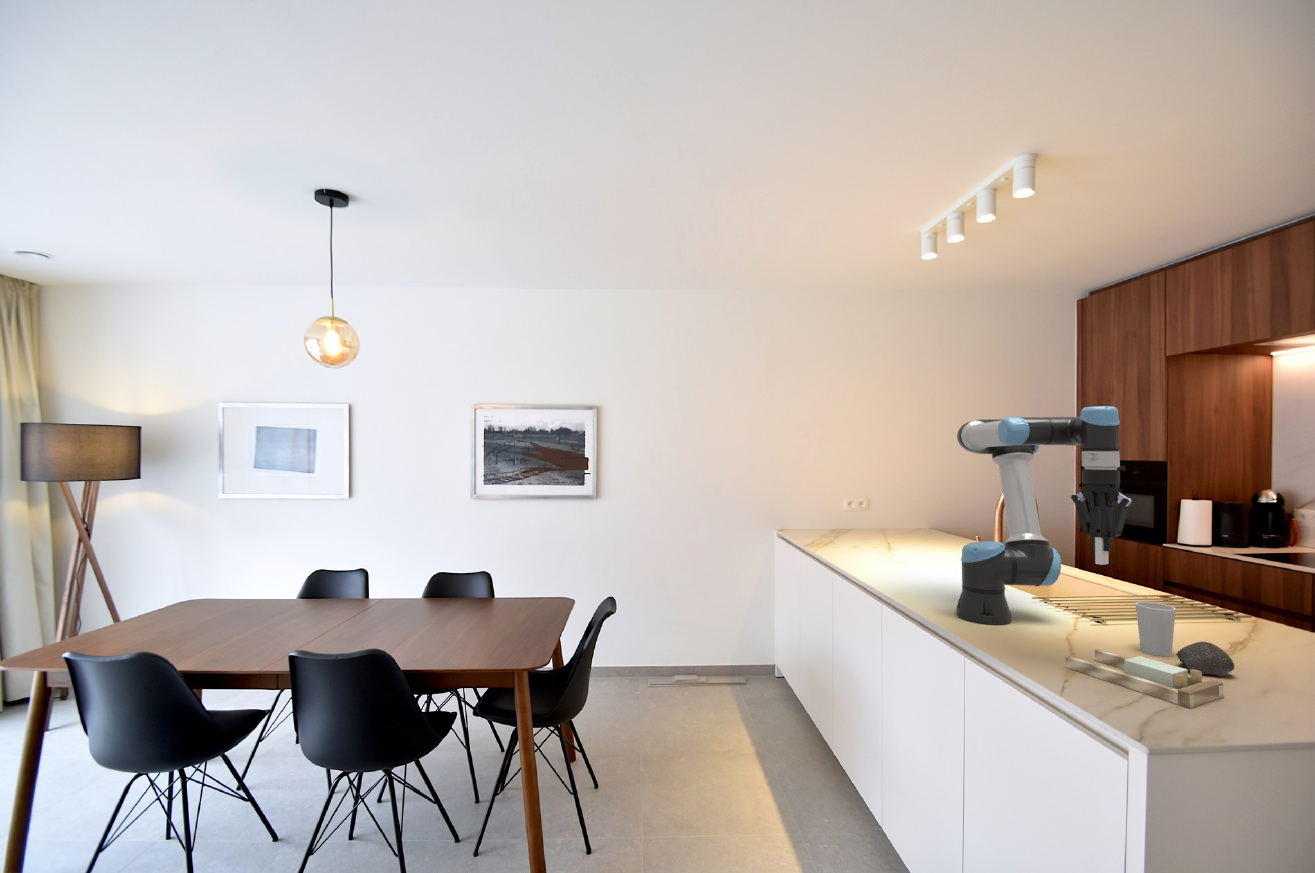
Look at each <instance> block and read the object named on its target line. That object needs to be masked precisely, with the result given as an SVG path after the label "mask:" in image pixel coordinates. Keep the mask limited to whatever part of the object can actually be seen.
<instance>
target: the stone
mask: <svg viewBox="0 0 1315 873" xmlns="http://www.w3.org/2000/svg"><path fill="white" fill-rule="evenodd" d="M1175 656H1176V657H1177V658H1178V659H1179V662H1181V663H1182V664H1183V665H1186V667H1187V668H1188V671H1190V670H1191V669H1194V670H1199V671H1201V672H1202V675H1213V676H1216V677H1223V676H1225V675H1227V674H1229V673H1230V672H1232V671H1234V670H1235V663H1234V661H1233V659H1232V658H1231V657H1230V656H1229V654H1228V653H1227V652H1226V650H1224V649H1222V648H1221V647H1219V646H1218V645H1215V644H1214V643H1212V642H1208V641H1198V642H1194V643H1191V644H1188V645H1186V646H1184V647H1182V648H1180V649H1179V650H1178V651H1177V653H1176V654H1175Z"/></svg>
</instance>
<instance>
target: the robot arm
mask: <svg viewBox="0 0 1315 873" xmlns="http://www.w3.org/2000/svg"><path fill="white" fill-rule="evenodd" d="M1120 423H1121V422H1120V418H1119V410H1118V408H1117V407H1115V406H1110V405H1109V406H1106V405H1105V406H1104V405H1103V406H1100V405H1099V406H1087V407H1086V406H1085V407H1083V408H1081V410H1080V416H1041V417H1040V416H1039V417H1036V416H1035V417H1034V416H1033V417H1031V416H1030V417H1029V416H1028V417H1026V416H1024V417H1023V416H1021V417H1020V416H1012V417H1004V418H1001V419H1000V418H999V419H997V418H996V419H994V418H993V419H991V418H990V419H982V418H981V419H974V420H970V421H967V422H965V423H963V424H962V425H961V426H960V427H959V429H958V430H957V434H956V439H957V442H958V444H959V446H960V447H961V448H963V449H964V450H965V451H966V452H971V453H974V454H979V455H991V457H992V461H993V462H994V463H995V464H997V465H998V469H999V470H998V471H999V476H1000V482H1001V488H1002V496H1003V502H1004V508H1005V516H1006V521H1007V528H1008V535H1009V537H1008V538H1007V539H1006V540H1005V542H1004V543H1002V541H1001V542H1000V541H994V540H993V541H988V540H987V541H974V542H968V543H967V544H965V545H963V547H962V548H961V556H960V557H961V559H960V561H961V582H962V583H961V593H960V596H959V599H958V601H957V605H956V608H955V613H956V614H955V615H956V616H957V617H958V618H960V619H961V620H965V621H969V622H973V623H978V624H984V625H1008V624H1010V623H1012V621H1013V619H1012V611H1011V610H1010V606H1009V603H1008V601H1007V598H1006V594H1005V589H1006V588H1005V586H1030V587H1031V586H1033V587H1040V586H1041V587H1048V586H1052V585H1054V584H1055V583H1056V582H1057V581H1058V579H1059V577H1060V574H1061V571H1062V560H1061V556H1060V553H1059V552H1058V550H1057V549H1056V548H1054V547H1050V543H1049V539H1047V538H1045V537H1044V536H1042V532H1041V525H1040V524H1041V523H1040V519H1039V512H1038V507H1037V502H1036V494H1035V489H1034V484H1033V478H1032V477H1033V476H1032V471H1031V465H1030V462H1031V461H1032V460H1033V459H1034V454H1035V453H1037V452H1038V450H1039V446H1073V447H1075V446H1081V447H1080V448H1081V466H1082V467H1083V468H1084V469H1082V470H1081V482H1082V487H1081V489H1080V491H1079V493H1077V494H1072V495H1071V496H1070V498H1071V500H1072V502H1073V503H1074V505H1075V508H1076V509H1075V510H1076V512H1077V516H1078V519H1079V523H1080V524H1079V525H1080V527H1081V531H1082V533H1083V534H1087V535H1089V536H1090V539H1091V540H1090V541H1091V549H1092V550H1094V557H1095V561H1094V562H1095V563H1094V564H1096V565H1100V566H1103V565H1104V566H1105V565H1109V552H1112V550H1113V538H1115V537H1120V536H1121V535H1122V534H1123V530H1124V525H1125V523H1126V519H1127V518H1126V517H1127V515H1128V511H1129V507H1131V505H1132V504H1133V502H1134V499H1133V498H1131V497H1127V496H1126V495H1124V494H1123V492H1122V489H1121V488H1120V485H1121V471H1120V470H1119V469H1118V468H1120V467H1121V465H1120V464H1121V463H1120V462H1121V460H1120ZM1085 500H1086V501H1087V502H1088V506H1087V503H1086V501H1085ZM1116 502H1117V507H1116V510H1115V513H1114V516H1113V510H1114V509H1115V508H1114V507H1115V506H1114V505H1115V504H1116ZM1004 544H1005V545H1004Z"/></svg>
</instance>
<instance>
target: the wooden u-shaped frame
mask: <svg viewBox="0 0 1315 873" xmlns="http://www.w3.org/2000/svg"><path fill="white" fill-rule="evenodd" d="M1130 658H1131V657H1127V656H1123V655H1121V654H1120V655H1119V654H1117V653H1112V652H1110V651H1106V650H1102V649H1097V648H1096V649H1094V661H1096V662H1098V663H1099V662H1100V663H1103V664H1106V665H1109V666H1113V667H1115V668H1120V669H1122V670H1124V660H1126V659H1130ZM1065 668H1066V669H1070V670H1072V671H1076V672H1079V673H1082V674H1085V675H1088V676H1091V677H1094V678H1097V679H1099V680H1103V681H1106V682H1109V683H1111V684H1115V685H1118V686H1122V687H1125V688H1127V689H1131V690H1134V691H1137V692H1140V693H1142V694H1145V695H1149V696H1151V697H1155V698H1158V699H1161V700H1164V701H1166V702H1170V703H1173V704H1176V705H1178V706H1182V707H1184V708H1185V707H1186V708H1189V709H1192V708H1196V707H1197V706H1201V705H1204V704H1206V703H1211V702H1212V701H1213V702H1214V701H1216V700H1219V699H1221V698H1223V697H1224V682H1221V681H1218V680H1214V679H1208V680H1206V679H1204V678H1203V674H1202V672H1201V671H1199V670H1194V669H1191V670H1189V671H1190V675H1189V674H1188V687H1187V676H1185V675H1182V674H1175V688H1171V687H1168V686H1165V685H1162V684H1158V683H1155V682H1152V681H1149V680H1146V679H1142V678H1139V677H1136V676H1133V675H1129V674H1126V673H1125V672H1122V671H1119V670H1116V669H1114V668H1109V667H1106V666H1104V665H1103V666H1102V665H1100V664H1097V663H1093V662H1091V661H1087V660H1084V659H1080V658H1078V657H1074V656H1071V655H1069V656H1065Z"/></svg>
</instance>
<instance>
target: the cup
mask: <svg viewBox="0 0 1315 873" xmlns="http://www.w3.org/2000/svg"><path fill="white" fill-rule="evenodd" d="M1176 610H1177V609H1176V607H1175V606H1173V605H1169V604H1165V603H1159V602H1151V601H1137V602H1135V612H1136V616H1137V617H1136V618H1137V626H1138V627H1137V628H1138V638H1139V650H1140V652H1142V653H1146V654H1147V655H1153V656H1157V657H1167V658H1168V657H1172V656H1173V643H1174V632H1175V621H1176V620H1175V619H1176V613H1177V612H1176Z"/></svg>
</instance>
